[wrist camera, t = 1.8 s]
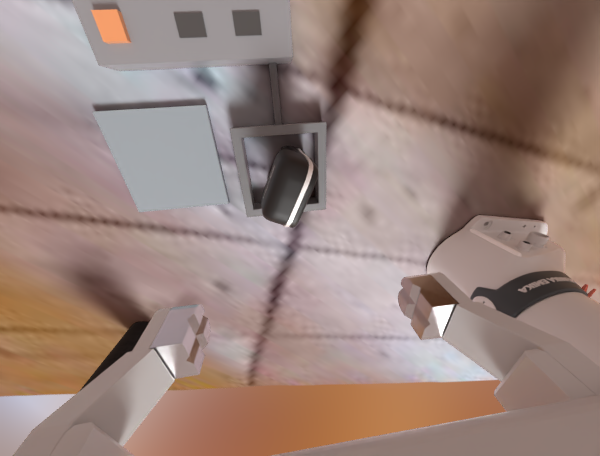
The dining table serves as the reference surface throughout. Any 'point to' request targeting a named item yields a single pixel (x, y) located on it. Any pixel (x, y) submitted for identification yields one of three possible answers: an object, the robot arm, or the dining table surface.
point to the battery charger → (289, 186)
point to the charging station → (204, 55)
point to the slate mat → (166, 156)
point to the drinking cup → (121, 348)
